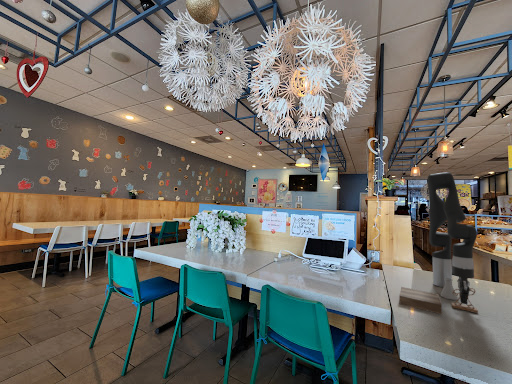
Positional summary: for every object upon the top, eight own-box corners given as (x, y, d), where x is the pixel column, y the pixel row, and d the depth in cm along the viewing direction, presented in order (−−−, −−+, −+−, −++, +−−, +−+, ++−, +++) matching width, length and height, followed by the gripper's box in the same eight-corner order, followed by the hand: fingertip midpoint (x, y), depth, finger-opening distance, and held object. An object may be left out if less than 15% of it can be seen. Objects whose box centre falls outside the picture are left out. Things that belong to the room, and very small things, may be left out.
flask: (461, 301, 114) (460, 281, 114) (445, 299, 115) (445, 280, 116) (452, 295, 121) (451, 277, 122) (437, 294, 122) (436, 276, 123)
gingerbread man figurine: (452, 307, 105) (451, 281, 106) (451, 304, 108) (450, 279, 109) (478, 313, 100) (477, 286, 100) (476, 309, 103) (475, 283, 104)
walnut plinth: (401, 294, 121) (401, 286, 121) (438, 302, 111) (438, 294, 112) (399, 303, 108) (399, 295, 108) (441, 314, 99) (441, 305, 99)
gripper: (450, 262, 113) (451, 296, 112) (454, 267, 102) (455, 305, 101) (470, 264, 108) (471, 300, 107) (476, 270, 97) (478, 310, 96)
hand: (463, 303), depth 104 cm, fingers closed on gingerbread man figurine, 1 cm apart
